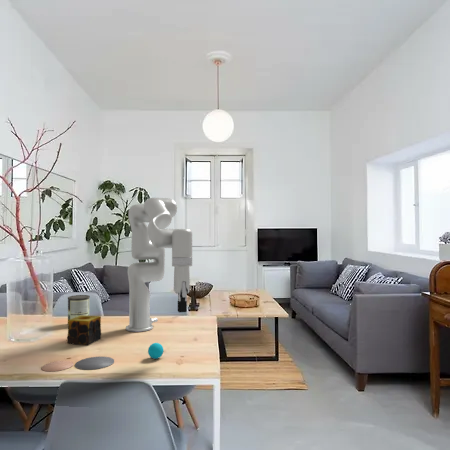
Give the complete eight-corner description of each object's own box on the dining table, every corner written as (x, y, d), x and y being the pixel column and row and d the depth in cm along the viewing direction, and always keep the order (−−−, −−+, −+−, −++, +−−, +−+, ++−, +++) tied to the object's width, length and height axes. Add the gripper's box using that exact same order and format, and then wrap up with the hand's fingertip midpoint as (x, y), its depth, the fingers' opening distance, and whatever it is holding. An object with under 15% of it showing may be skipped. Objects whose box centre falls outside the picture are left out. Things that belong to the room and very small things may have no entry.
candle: (88, 345, 151) (88, 321, 151) (66, 344, 153) (66, 320, 153) (101, 339, 161) (101, 315, 161) (80, 337, 163) (80, 314, 163)
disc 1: (65, 359, 134) (65, 358, 134) (79, 365, 127) (79, 364, 127) (36, 366, 126) (36, 366, 126) (49, 373, 120) (49, 373, 120)
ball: (156, 354, 139) (157, 340, 139) (166, 358, 135) (166, 342, 135) (144, 358, 135) (145, 343, 135) (154, 361, 131) (154, 346, 131)
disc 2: (101, 354, 139) (101, 354, 139) (121, 362, 131) (121, 361, 131) (67, 363, 129) (67, 363, 129) (86, 372, 121) (87, 372, 121)
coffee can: (62, 325, 184) (63, 297, 185) (80, 321, 193) (80, 294, 194) (76, 328, 179) (76, 298, 179) (93, 323, 188) (94, 295, 188)
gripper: (170, 261, 145) (170, 308, 144) (174, 263, 130) (174, 316, 129) (189, 260, 146) (189, 307, 146) (195, 263, 132) (195, 315, 131)
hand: (182, 311), depth 138 cm, fingers closed
